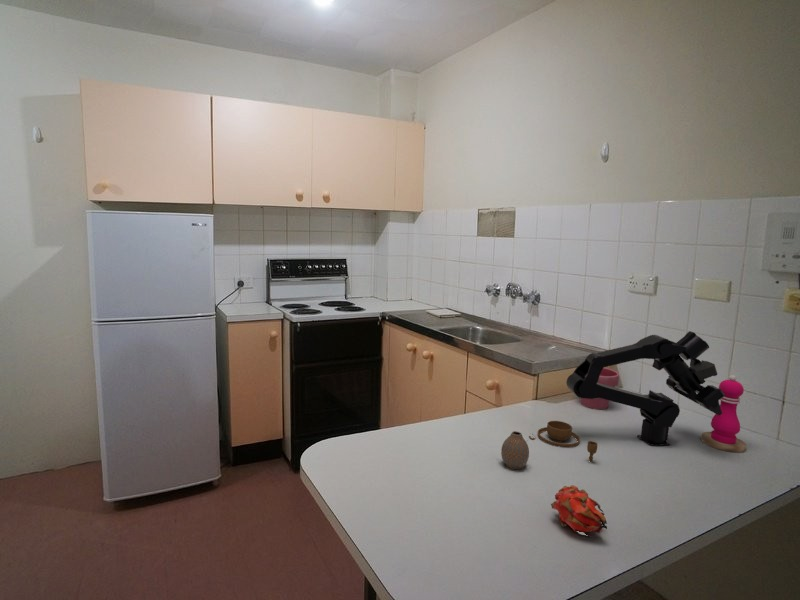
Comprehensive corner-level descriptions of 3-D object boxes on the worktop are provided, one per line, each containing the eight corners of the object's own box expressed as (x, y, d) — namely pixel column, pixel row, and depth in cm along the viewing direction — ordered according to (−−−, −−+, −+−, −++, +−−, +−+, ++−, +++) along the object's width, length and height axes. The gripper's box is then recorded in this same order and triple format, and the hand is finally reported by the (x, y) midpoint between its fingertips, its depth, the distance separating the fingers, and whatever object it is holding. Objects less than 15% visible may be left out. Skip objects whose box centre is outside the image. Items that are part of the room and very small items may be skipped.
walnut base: (721, 453, 135) (722, 448, 135) (692, 436, 146) (693, 432, 145) (754, 452, 137) (755, 447, 136) (723, 436, 147) (724, 431, 147)
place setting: (587, 437, 143) (589, 418, 142) (599, 467, 123) (601, 446, 123) (527, 428, 147) (529, 410, 146) (530, 457, 127) (532, 436, 126)
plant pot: (568, 396, 177) (572, 363, 176) (607, 399, 176) (611, 366, 174) (579, 410, 163) (583, 374, 162) (621, 414, 162) (625, 378, 160)
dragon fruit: (552, 515, 102) (599, 555, 93) (535, 504, 97) (583, 545, 88) (574, 483, 103) (623, 519, 93) (558, 470, 98) (608, 507, 89)
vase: (529, 463, 123) (532, 431, 121) (525, 474, 116) (528, 441, 115) (503, 456, 125) (506, 425, 124) (497, 467, 119) (500, 434, 118)
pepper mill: (741, 447, 136) (752, 380, 133) (712, 442, 138) (722, 376, 136) (733, 437, 143) (743, 373, 140) (705, 432, 145) (715, 370, 142)
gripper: (722, 361, 128) (755, 402, 130) (680, 345, 146) (710, 381, 148) (690, 387, 129) (723, 427, 130) (652, 368, 147) (682, 403, 149)
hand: (709, 408), depth 139 cm, fingers open, 9 cm apart
